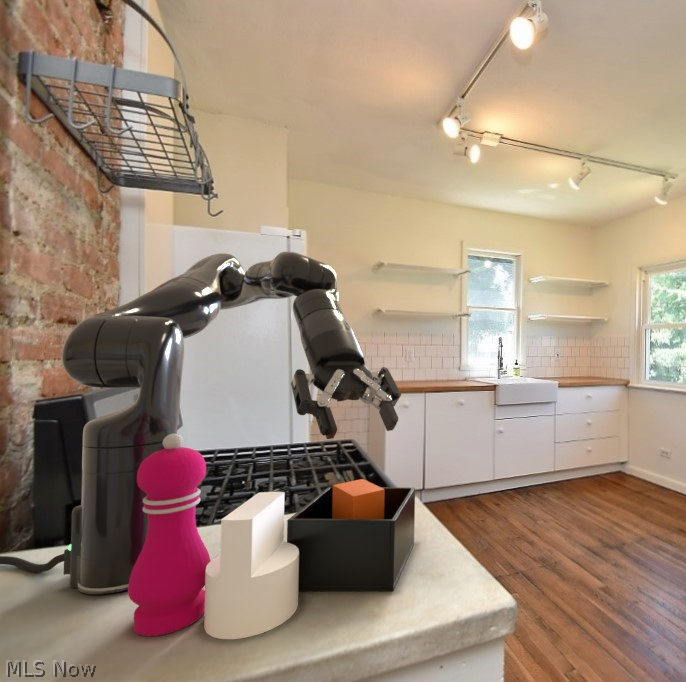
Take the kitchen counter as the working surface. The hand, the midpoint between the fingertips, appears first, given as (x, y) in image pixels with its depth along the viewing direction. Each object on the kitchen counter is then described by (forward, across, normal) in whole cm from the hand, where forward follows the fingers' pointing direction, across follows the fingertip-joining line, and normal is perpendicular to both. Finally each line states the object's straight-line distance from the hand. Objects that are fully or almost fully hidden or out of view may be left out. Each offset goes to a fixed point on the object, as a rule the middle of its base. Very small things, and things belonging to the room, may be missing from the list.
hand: (363, 431), depth 60 cm
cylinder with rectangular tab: (+14, +13, -12) cm, 23 cm away
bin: (+12, 0, -14) cm, 18 cm away
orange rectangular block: (+12, 0, -14) cm, 18 cm away
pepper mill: (+11, +20, -16) cm, 27 cm away
